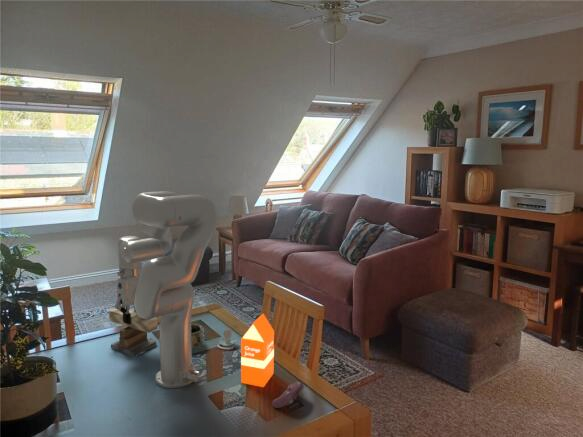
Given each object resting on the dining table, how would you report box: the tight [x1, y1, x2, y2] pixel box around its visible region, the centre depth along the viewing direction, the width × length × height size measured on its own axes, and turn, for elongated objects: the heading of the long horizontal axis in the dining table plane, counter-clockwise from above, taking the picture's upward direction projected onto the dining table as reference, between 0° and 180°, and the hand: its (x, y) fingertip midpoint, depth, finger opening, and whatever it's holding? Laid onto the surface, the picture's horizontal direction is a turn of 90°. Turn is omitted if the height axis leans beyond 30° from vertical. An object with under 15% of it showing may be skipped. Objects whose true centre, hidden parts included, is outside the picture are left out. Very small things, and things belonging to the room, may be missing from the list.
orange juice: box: [240, 313, 275, 388], centre depth 137 cm, size 8×9×20 cm
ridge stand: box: [110, 326, 157, 357], centre depth 157 cm, size 12×10×8 cm
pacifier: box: [216, 328, 238, 350], centre depth 159 cm, size 7×6×6 cm
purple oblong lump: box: [271, 380, 305, 409], centre depth 125 cm, size 10×5×7 cm, turn 149°
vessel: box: [191, 323, 203, 350], centre depth 160 cm, size 12×9×6 cm
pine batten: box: [108, 307, 159, 334], centre depth 156 cm, size 20×4×4 cm, turn 61°
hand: (132, 320), depth 156 cm, fingers open, 4 cm apart
